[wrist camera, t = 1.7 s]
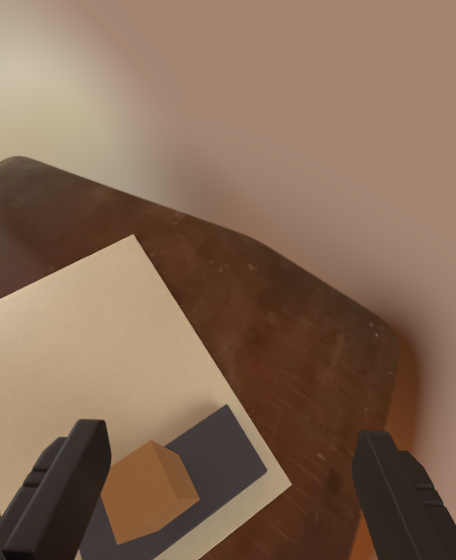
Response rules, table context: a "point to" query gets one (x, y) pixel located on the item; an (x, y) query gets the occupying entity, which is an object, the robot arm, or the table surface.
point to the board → (114, 377)
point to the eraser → (170, 489)
